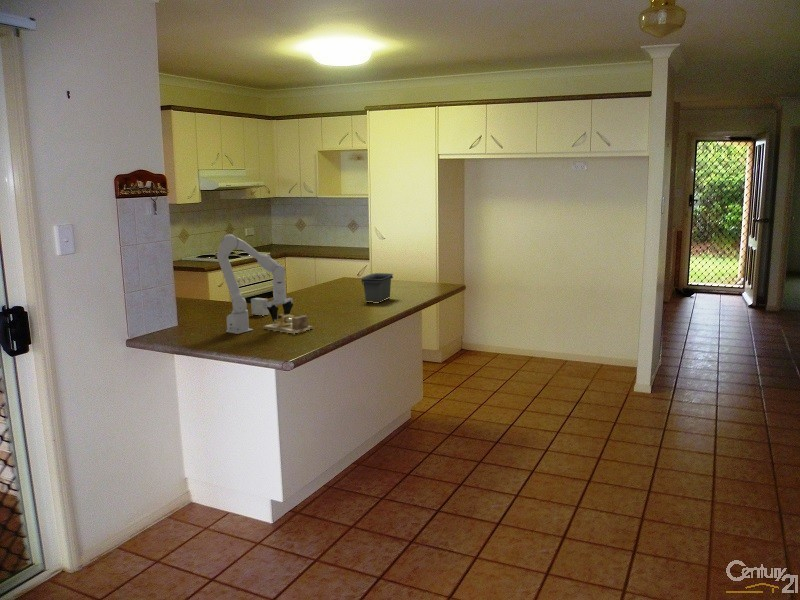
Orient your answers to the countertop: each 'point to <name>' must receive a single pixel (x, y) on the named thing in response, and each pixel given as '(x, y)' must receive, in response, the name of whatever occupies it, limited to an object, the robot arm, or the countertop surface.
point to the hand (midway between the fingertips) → (280, 320)
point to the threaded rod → (287, 320)
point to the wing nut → (281, 319)
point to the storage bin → (377, 286)
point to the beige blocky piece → (292, 325)
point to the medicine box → (259, 306)
